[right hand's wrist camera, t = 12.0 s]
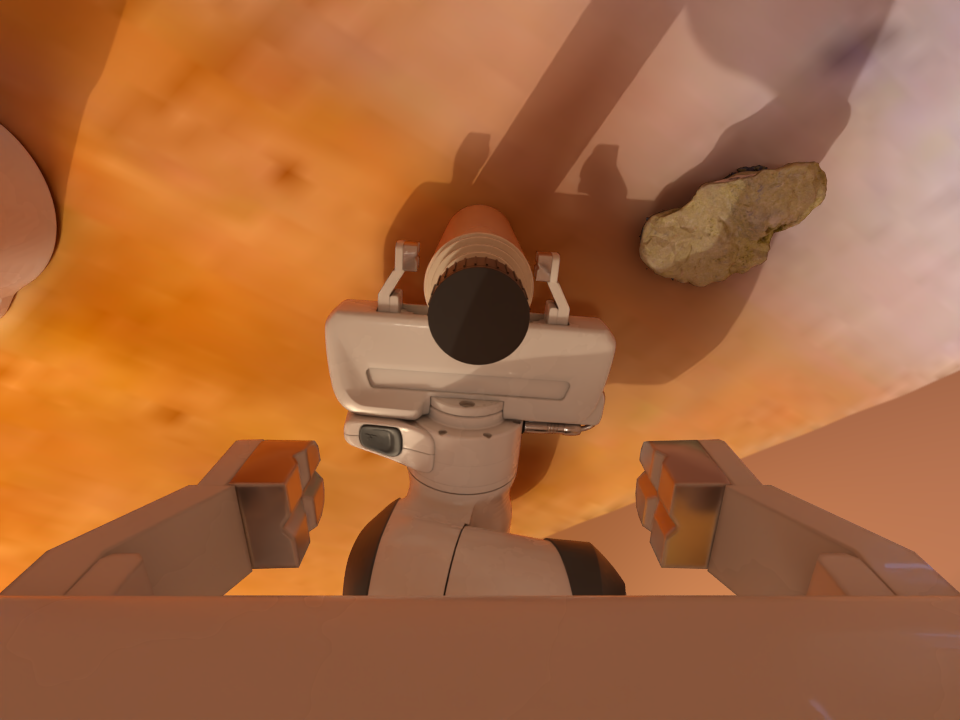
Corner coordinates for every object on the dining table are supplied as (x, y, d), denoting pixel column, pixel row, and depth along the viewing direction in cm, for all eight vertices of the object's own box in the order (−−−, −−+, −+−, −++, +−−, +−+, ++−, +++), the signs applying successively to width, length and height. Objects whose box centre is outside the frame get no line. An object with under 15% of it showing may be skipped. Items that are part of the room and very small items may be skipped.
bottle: (430, 247, 40) (386, 327, 21) (471, 189, 38) (464, 219, 19) (485, 288, 41) (491, 399, 22) (527, 233, 39) (572, 302, 20)
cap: (412, 312, 22) (405, 328, 20) (468, 235, 21) (467, 243, 19) (487, 365, 23) (488, 385, 21) (546, 293, 22) (552, 307, 20)
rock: (621, 259, 41) (737, 306, 41) (632, 269, 35) (768, 324, 35) (686, 122, 38) (812, 173, 37) (711, 107, 32) (862, 167, 31)
